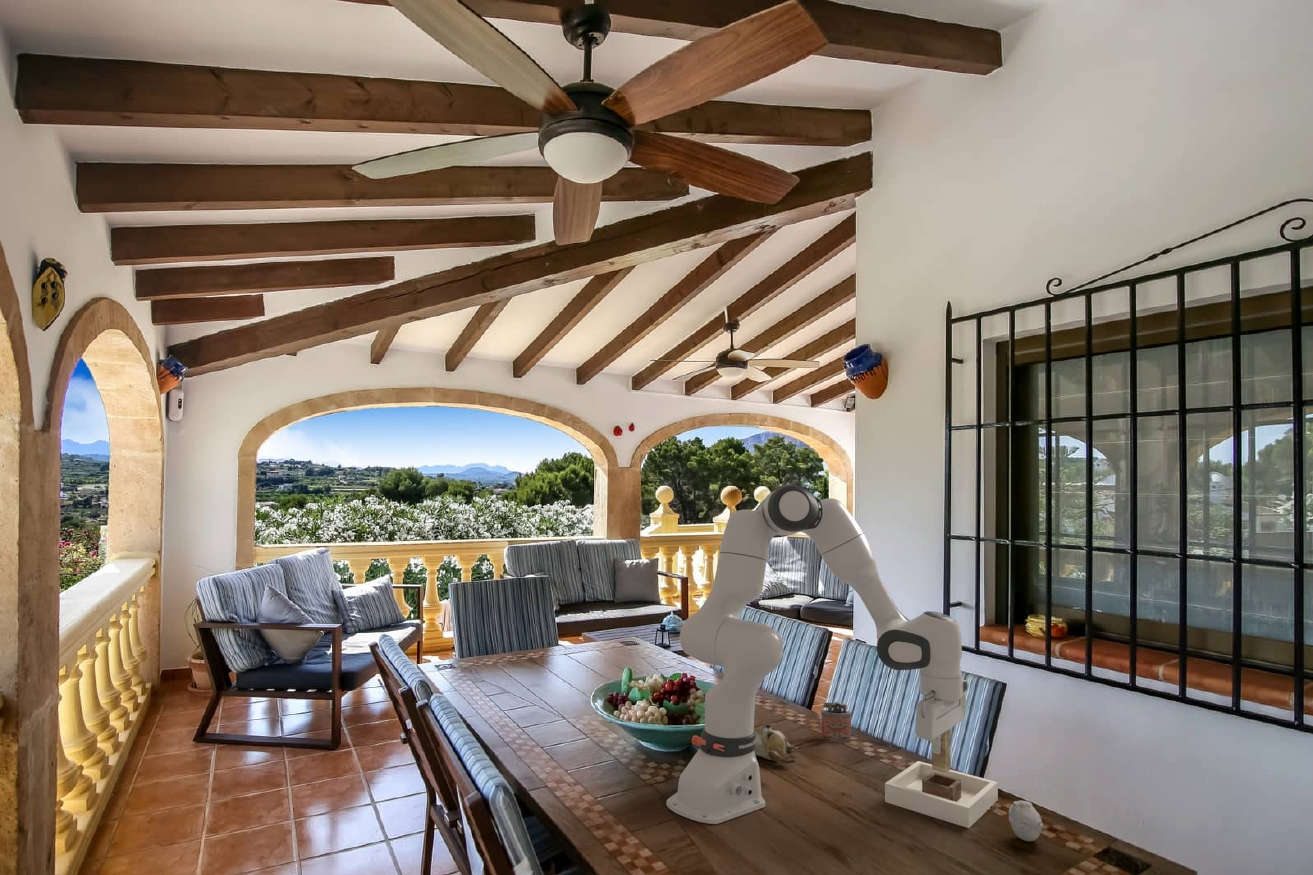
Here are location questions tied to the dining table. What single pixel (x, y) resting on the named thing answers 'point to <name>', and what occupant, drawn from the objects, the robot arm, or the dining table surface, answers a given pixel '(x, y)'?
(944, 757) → the tan wooden block
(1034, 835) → the grey rounded stone
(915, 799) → the tray
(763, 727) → the ceramic sculpture
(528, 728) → the dining table surface
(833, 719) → the lighter
